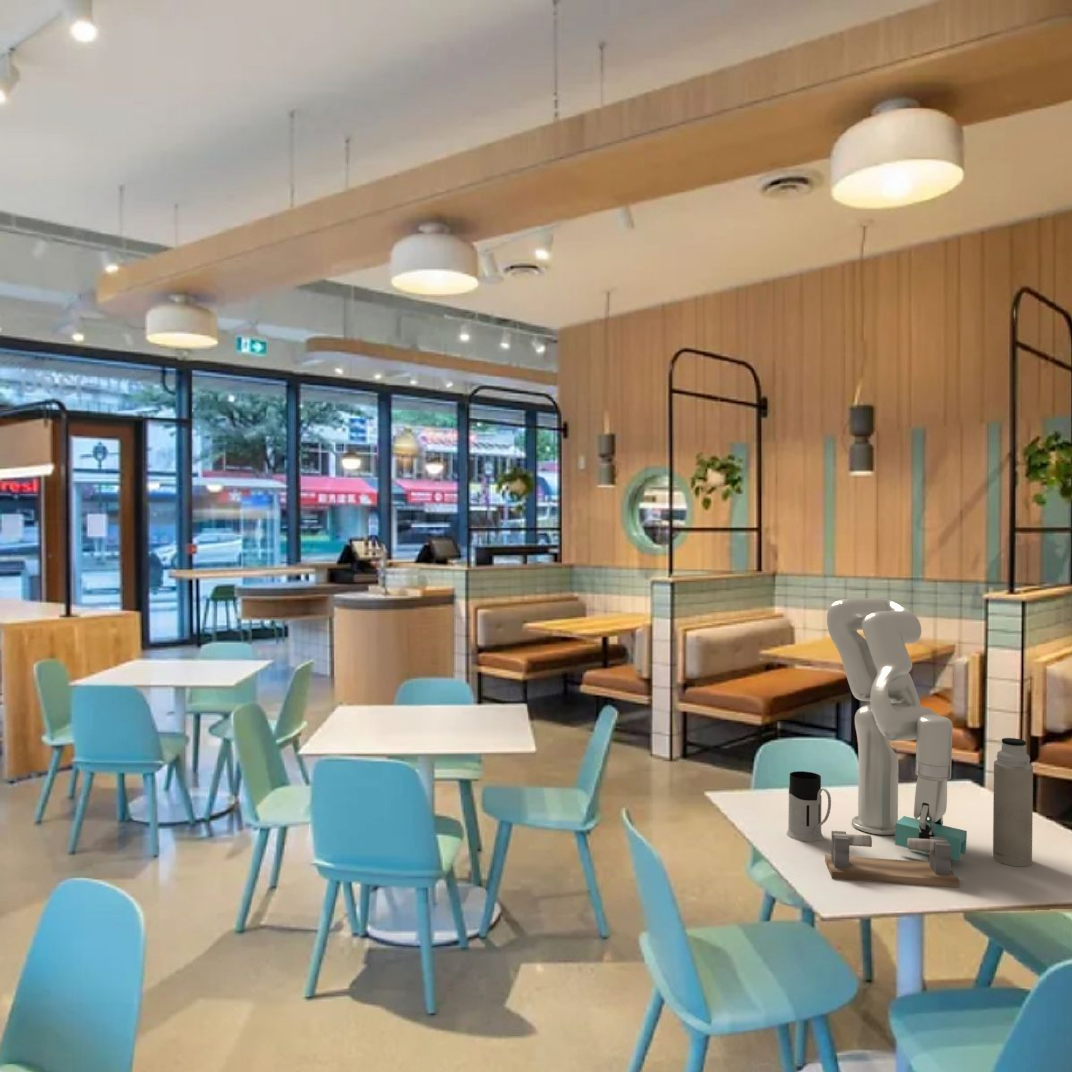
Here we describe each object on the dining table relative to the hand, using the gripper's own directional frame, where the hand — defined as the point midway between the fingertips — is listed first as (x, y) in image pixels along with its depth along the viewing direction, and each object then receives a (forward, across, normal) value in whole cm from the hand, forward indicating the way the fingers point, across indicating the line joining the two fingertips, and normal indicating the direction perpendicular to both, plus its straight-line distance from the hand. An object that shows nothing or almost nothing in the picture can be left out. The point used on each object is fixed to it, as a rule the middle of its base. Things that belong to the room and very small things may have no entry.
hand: (930, 845), depth 206 cm
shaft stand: (+3, +16, -4) cm, 17 cm away
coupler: (+1, 0, 0) cm, 1 cm away
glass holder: (+4, +6, -26) cm, 27 cm away
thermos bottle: (+3, -11, +15) cm, 19 cm away
